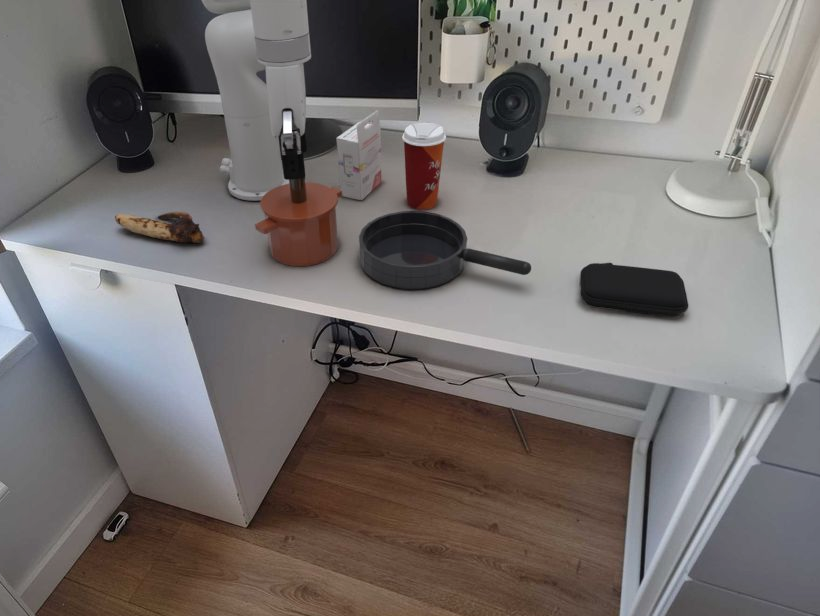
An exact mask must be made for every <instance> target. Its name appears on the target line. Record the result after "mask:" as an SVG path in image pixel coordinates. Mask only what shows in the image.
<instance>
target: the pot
mask: <svg viewBox="0 0 820 616" xmlns="http://www.w3.org/2000/svg"><path fill="white" fill-rule="evenodd" d="M330 188H331V189H333V190H334V191H335V192H336V194H337V196H338V199H339V198H341V197H343V196H342V191H341V190H340V188H336V187H335V186H330ZM336 209H337V206H336V207H335V209H334V210H333V211H332V212H330V213H329V214H327V215H325V216H323V217H321V218H318V219H315V220H311V221H305V222H284V221H279V220H275V219H272V218H270V217H268V216H267V215H265V214H264V213H263V216H264V219H263V220H261V221H259V222H256V223H254V229H255V230H256V231H257V232H259V233H261V234H263V235H266V236H267V241H268V242H267V243H268V250H269V251H270V255H271V257H272V258H273V259H274V260H276V261H277V263H281V264H283V265H286V266H292V267H309V266H314V265H319V264H321V263H324V262H326V261H328V260H330V259H331V258H333V256H334V255H335V254H336V252H337V250H338V248H339V246H338V245H339V241H338V224H337V222H338V221H337V210H336Z"/></svg>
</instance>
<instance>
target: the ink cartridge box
mask: <svg viewBox="0 0 820 616" xmlns="http://www.w3.org/2000/svg"><path fill="white" fill-rule="evenodd" d="M381 136H382V133H381V120H380V111H379V110H378V109H377V110H375V111H374V112H373V113H371V114H370V115H368V116H367V117H365V118H364V119H363V120H361V121H358V122H357V123H355V124H354V125H352V126H351V127H350V128H348V129H347V130H345V131H344V132H342V133H341V134H340V135H339V136H336V138H335V139H336V140H335V141H336V149H337V165H338V177H339V179H338V180H339V190H341V191H342V196H341V197H344V198H348V199H353V200H357V201H362V200H364V199H365V198H366V197H367V196H368V195H369V194H370V193H371V192H372V191H374V190H375V189H376V188H377V187H378V186H379V185H380V184H381V183H382V137H381Z"/></svg>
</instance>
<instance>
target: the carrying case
mask: <svg viewBox="0 0 820 616" xmlns="http://www.w3.org/2000/svg"><path fill="white" fill-rule="evenodd" d="M579 277H580V278H579V279H580V280H579V282H580V283H579V287H580V288H579V291H580V292H579V294H580V298H581V300H582V301H584V303H585V304H586V305H588V306H589V307H593V308H599V309H607V310H616V311H623V312H631V313H639V314H648V315H657V316H666V317H675V316H680V315H681V314H684V313H685V312H687V310H688V309H689V301H688V296H687V292H686V291H687V290H686V286H685V281H684V280H683V278H682V277H681V276H680V274H679V273H678V272H675V271H672V270H667V269H657V268H649V267H641V266H640V267H639V266H632V265H631V266H630V265H622V264H613V263H612V262H601V263H599V262H595V263H589V264H588V265H586V266H584V267H583V268H582V269H581V270H580V273H579Z"/></svg>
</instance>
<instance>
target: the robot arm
mask: <svg viewBox="0 0 820 616" xmlns="http://www.w3.org/2000/svg"><path fill="white" fill-rule="evenodd" d="M201 2H202V4H203V6H204V7H205V9H206V10H207V11H208V12H211V13H212V14H217V16H215V17H213V18H212V19H211V20H210V21H209V22H208V24H207V26H206V27H205V31H204V40H205V41H204V42H205V45H206V50H207V53H208V56H209V58H210V59H209V60H210V63H211V65H212V68H213V71H214V72H213V73H214V74H215V79H216V82H217V86H218V91H219V97H220V102H221V108H222V112H223V118H224V124H225V130H226V136H227V141H228V149H229V153H230V158H228V157H224V158H223V159H221V165H220V167H219V172H220V173H223V174H228V175H229V177H230V179H229V181H228V184H227V188H228V191H229V193H230V194H231V196H233V197H235V198H237V199H239V200H244V201H249V202H250V201H251V202H258V201H260V202H261V199H262V197H263V196H264V195H265V194H266V193H267V192H269V191H270V190H272V189H274V188H276V187H279V186H282V185H285V184H289V180H292V179H304V178H305V179H306V168H305V157H304V153H307V151H308V147H307V146H308V145H307V135H306V121H307V95H306V94H307V91H306V78H305V67H304V63H306V62H309V60H311V59H312V49H311V48H312V47H311V38H310V27H309V15H308V4H307V3H308V2H307V0H201ZM262 71H265V82H264V81H263V80H262V78H260V77H259V76H258V75H257V73H258V72H262ZM279 137H280V138H279ZM280 143H281V144H280ZM280 145H281V146H280Z"/></svg>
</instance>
